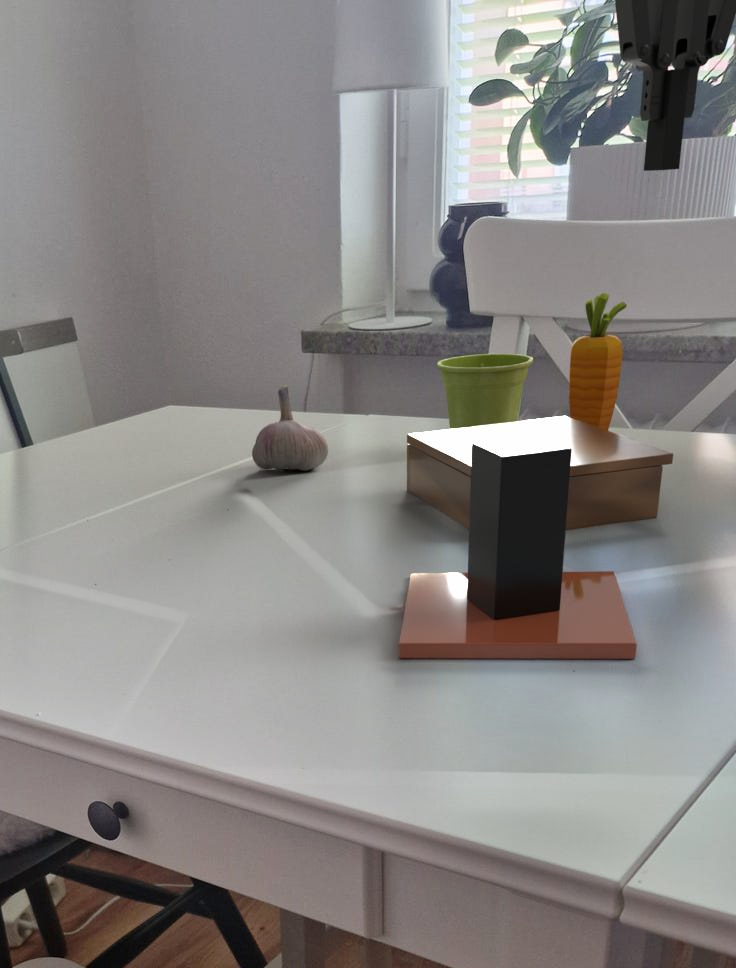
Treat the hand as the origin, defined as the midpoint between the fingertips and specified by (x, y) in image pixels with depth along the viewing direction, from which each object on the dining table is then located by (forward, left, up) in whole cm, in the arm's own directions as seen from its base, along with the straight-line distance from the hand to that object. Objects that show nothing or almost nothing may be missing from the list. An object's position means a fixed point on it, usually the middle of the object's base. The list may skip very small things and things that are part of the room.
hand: (661, 169), depth 91 cm
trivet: (+11, +35, -24) cm, 44 cm away
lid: (+9, +8, -20) cm, 23 cm away
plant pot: (+13, -16, -25) cm, 32 cm away
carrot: (+3, -9, -25) cm, 26 cm away
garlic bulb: (+32, -10, -25) cm, 42 cm away
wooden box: (+10, +8, -24) cm, 27 cm away
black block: (+11, +35, -23) cm, 44 cm away
